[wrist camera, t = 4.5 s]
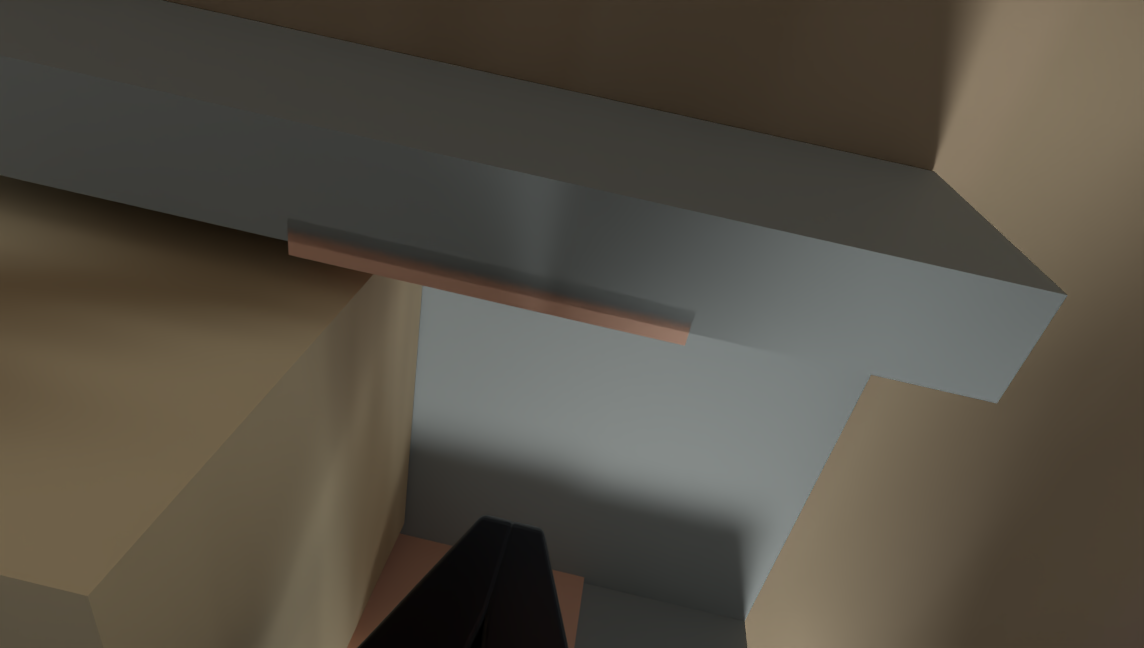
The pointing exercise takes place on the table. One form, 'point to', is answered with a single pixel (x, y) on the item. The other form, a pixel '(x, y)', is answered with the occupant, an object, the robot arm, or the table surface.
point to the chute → (550, 284)
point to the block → (192, 430)
